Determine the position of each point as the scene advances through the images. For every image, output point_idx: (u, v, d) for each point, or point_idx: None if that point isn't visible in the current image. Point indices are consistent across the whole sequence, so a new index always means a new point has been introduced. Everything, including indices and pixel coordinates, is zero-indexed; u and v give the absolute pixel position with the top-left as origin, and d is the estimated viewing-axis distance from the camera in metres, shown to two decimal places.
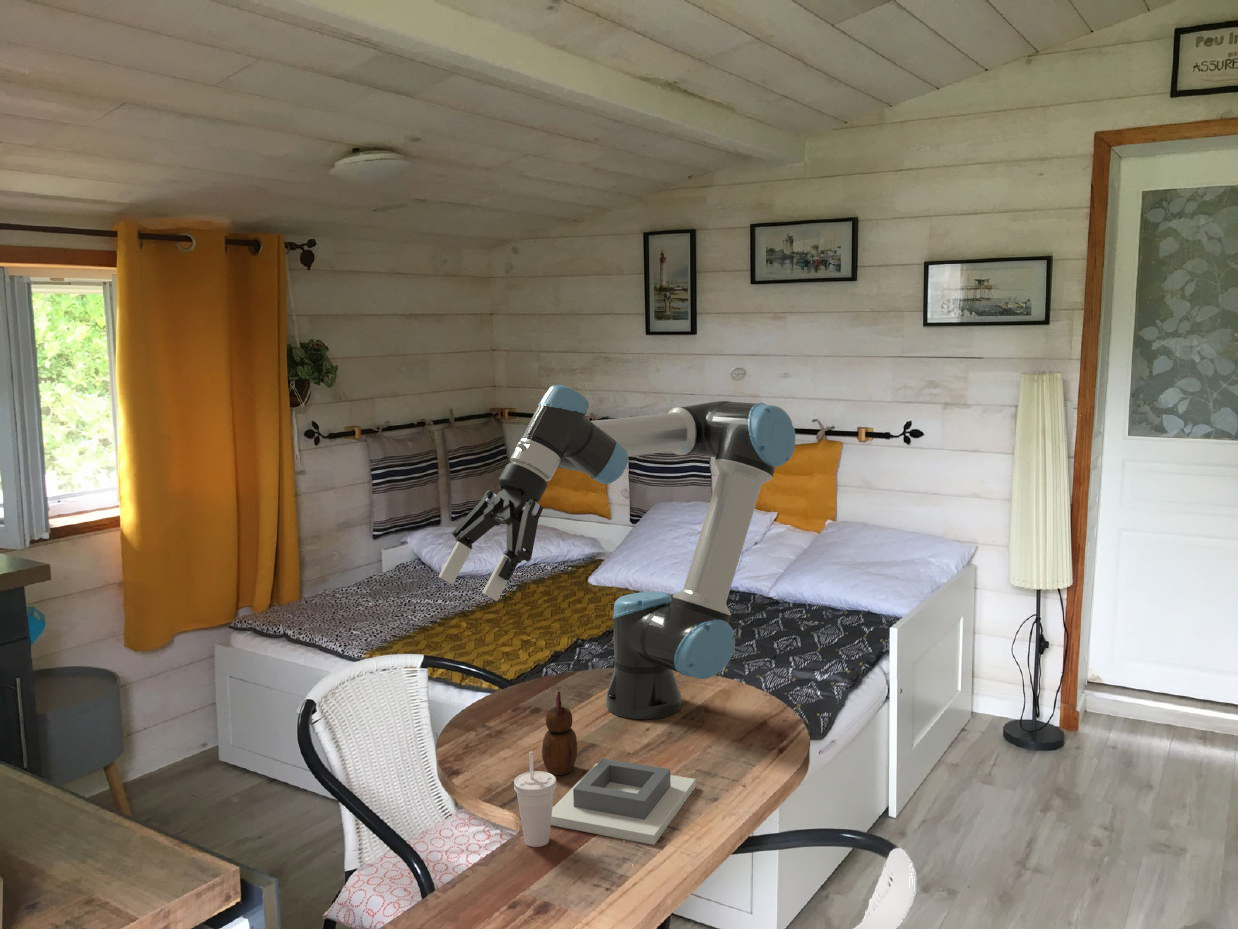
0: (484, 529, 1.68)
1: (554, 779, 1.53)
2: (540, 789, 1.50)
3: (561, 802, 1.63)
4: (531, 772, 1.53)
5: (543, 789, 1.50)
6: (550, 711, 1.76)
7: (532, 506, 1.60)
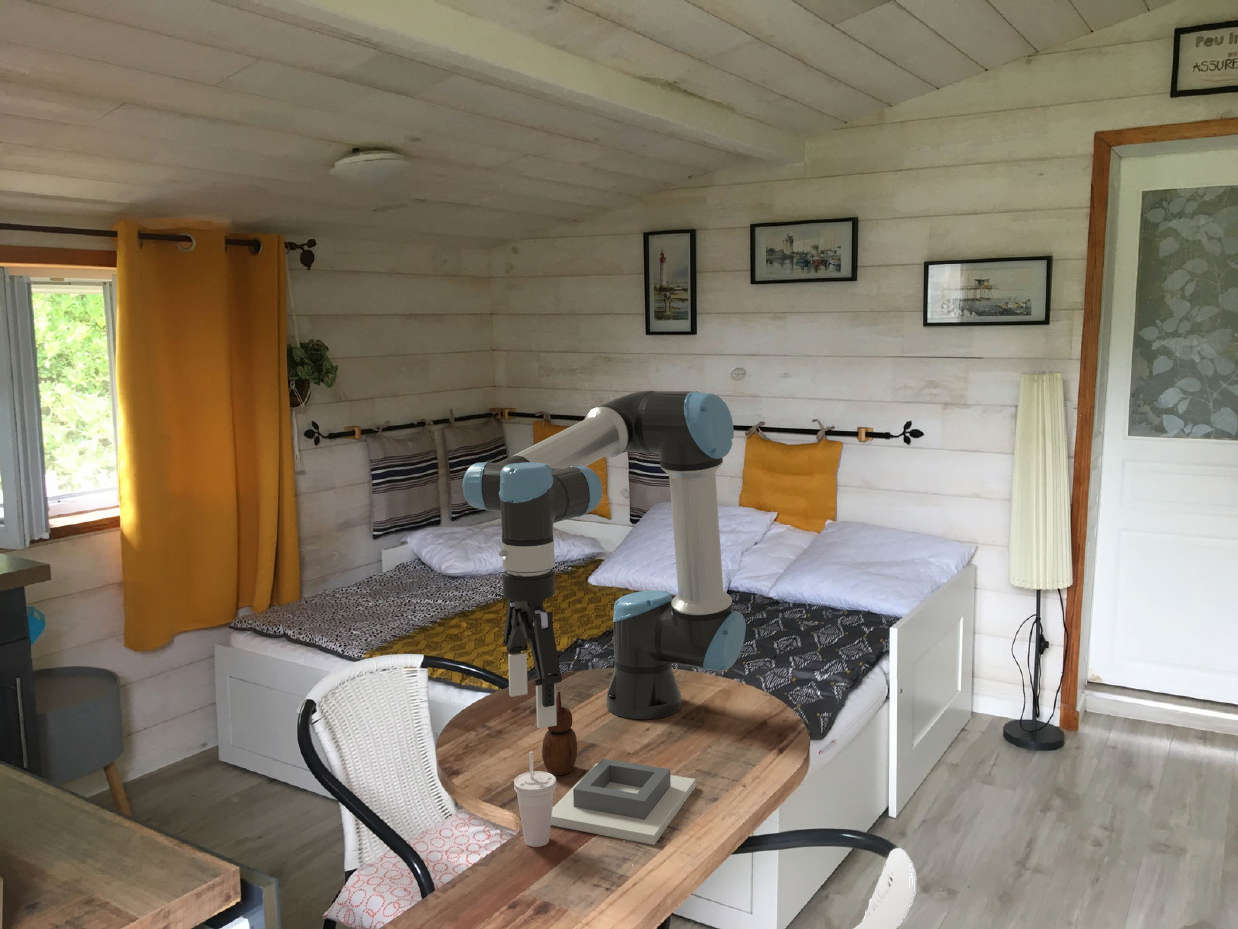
0: (524, 634, 1.54)
1: (554, 779, 1.53)
2: (540, 789, 1.50)
3: (561, 802, 1.63)
4: (531, 772, 1.53)
5: (543, 789, 1.50)
6: None
7: (538, 621, 1.43)
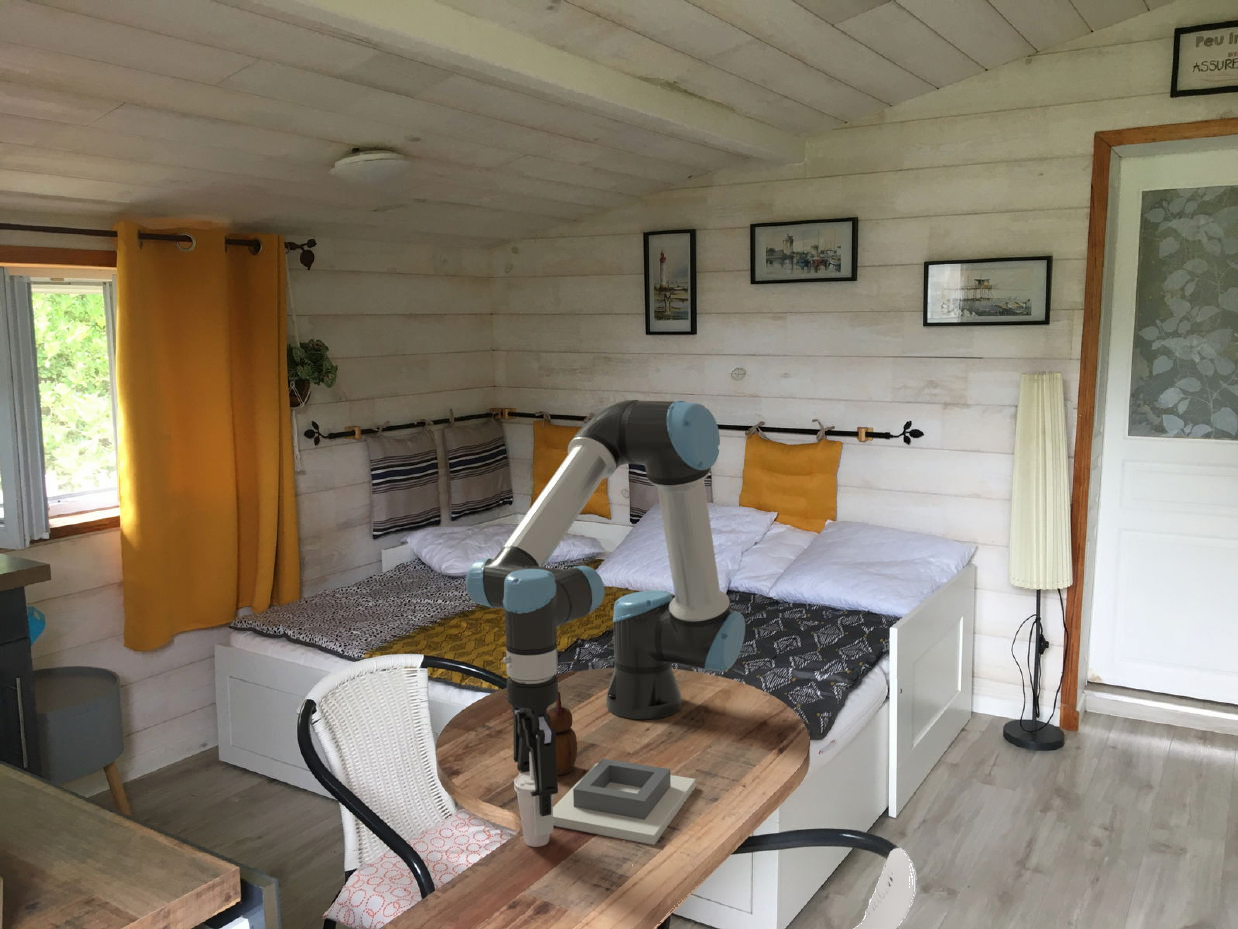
0: None
1: None
2: None
3: (561, 802, 1.63)
4: (531, 772, 1.53)
5: None
6: (550, 711, 1.76)
7: (542, 739, 1.45)
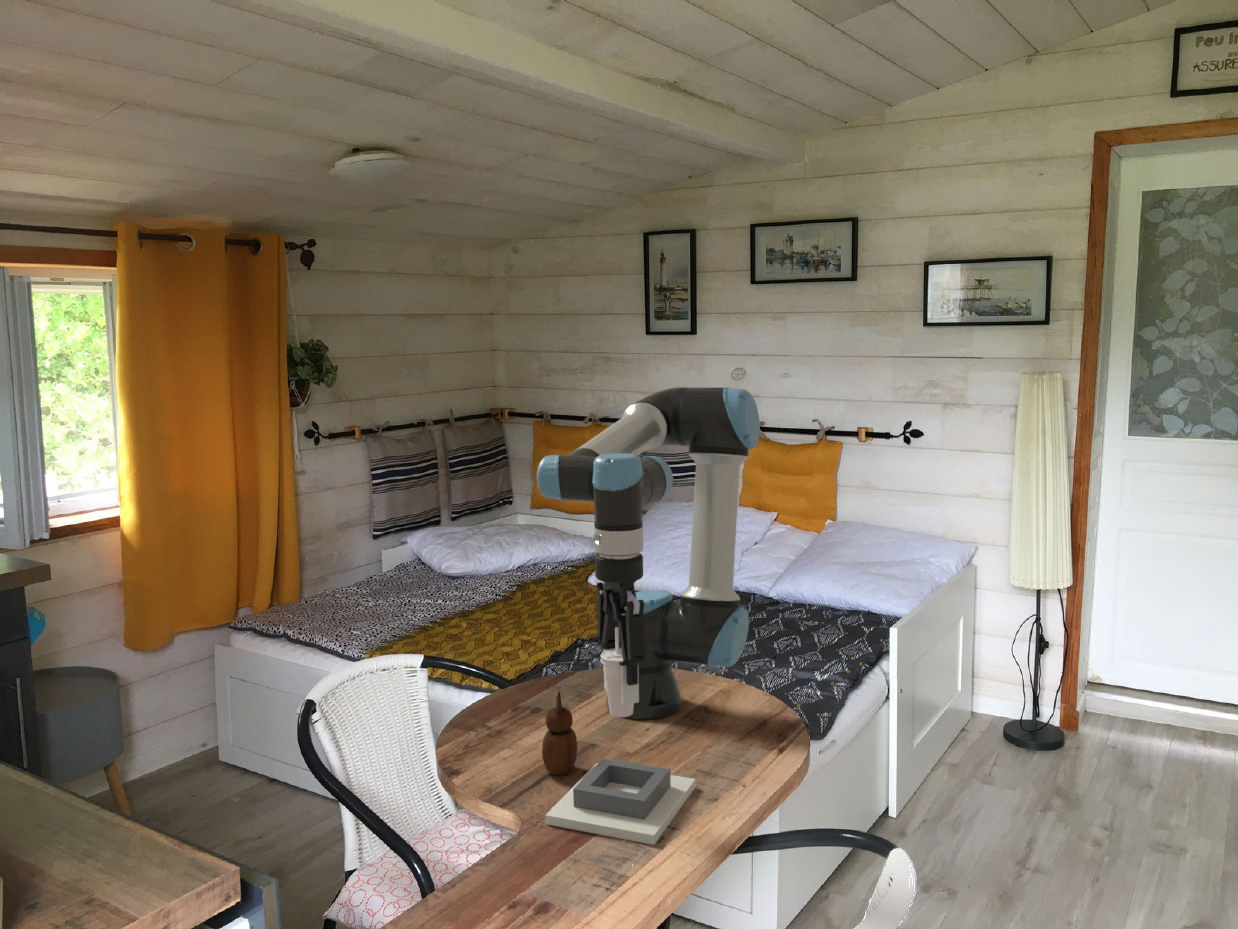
0: (616, 623, 1.63)
1: None
2: None
3: (561, 802, 1.63)
4: (617, 646, 1.61)
5: None
6: (550, 711, 1.76)
7: (631, 609, 1.54)
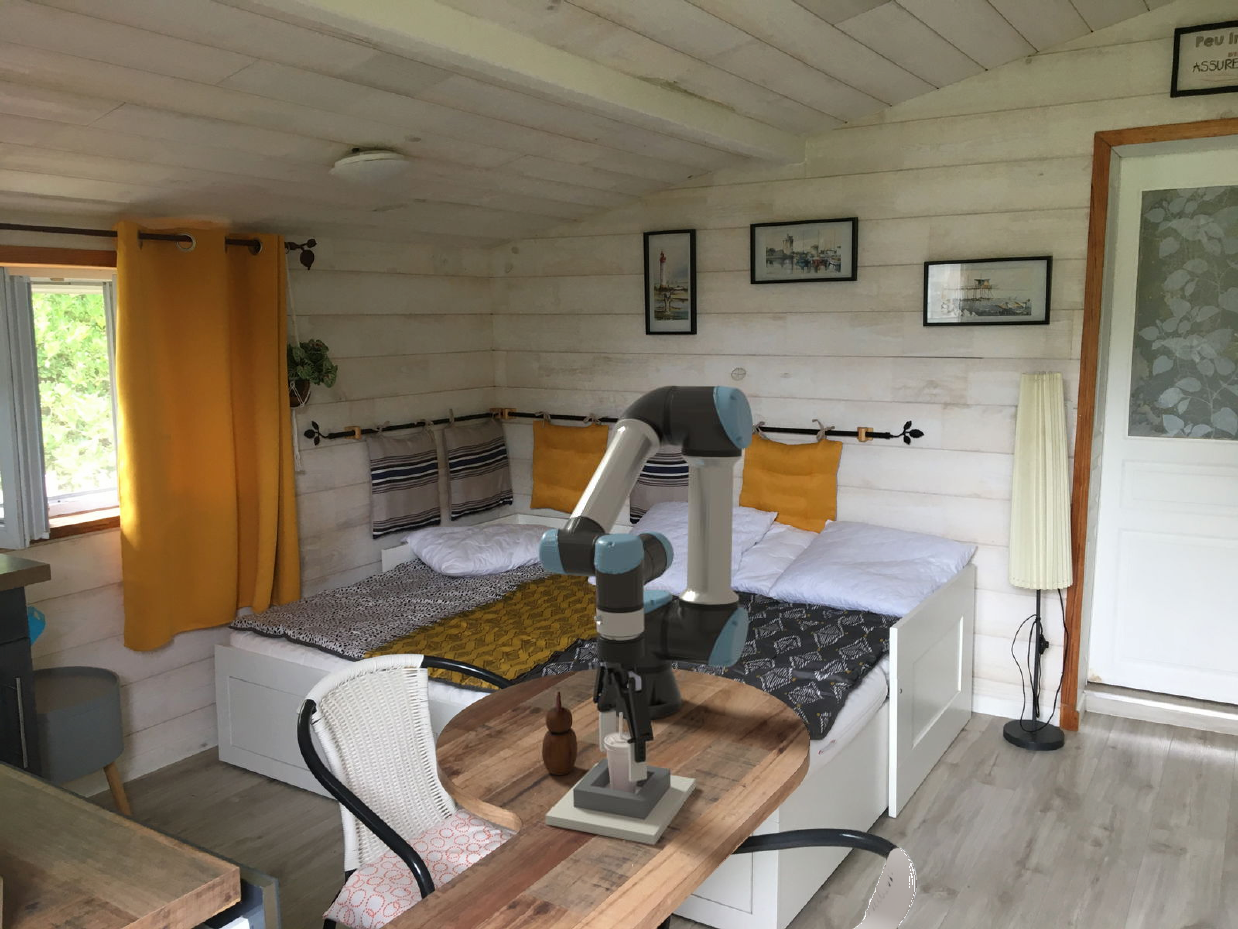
0: (614, 693, 1.66)
1: None
2: None
3: (561, 802, 1.63)
4: (620, 732, 1.63)
5: None
6: (550, 711, 1.76)
7: (633, 685, 1.55)
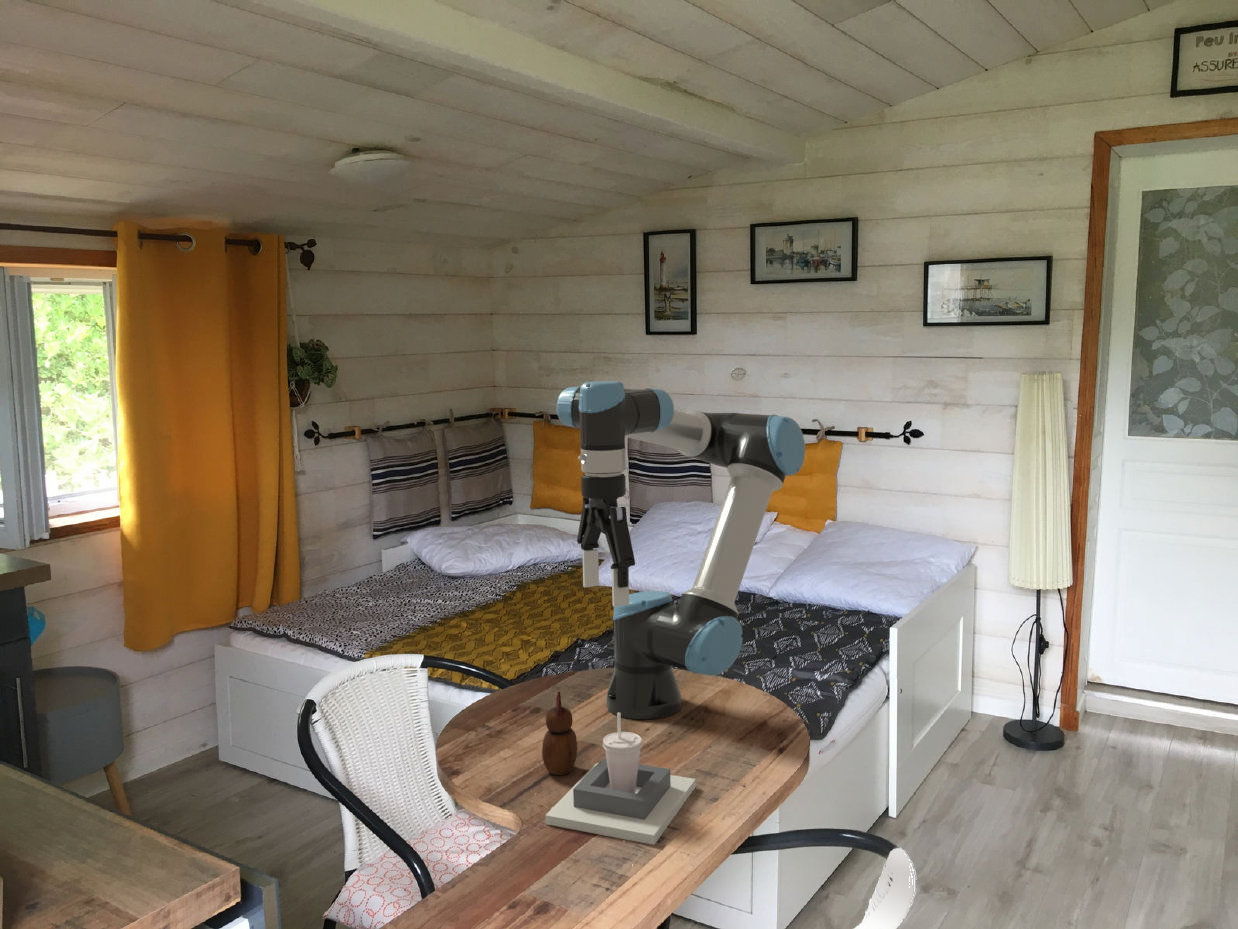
0: (597, 532, 1.78)
1: (640, 739, 1.64)
2: (628, 747, 1.61)
3: (561, 802, 1.63)
4: (619, 732, 1.63)
5: (631, 747, 1.61)
6: (550, 711, 1.76)
7: (614, 514, 1.67)
